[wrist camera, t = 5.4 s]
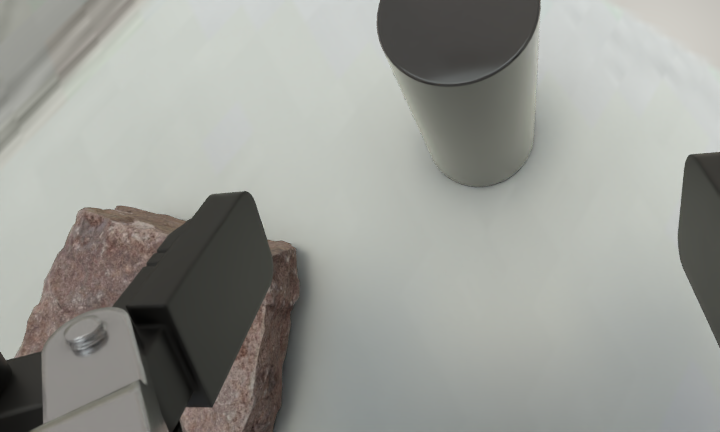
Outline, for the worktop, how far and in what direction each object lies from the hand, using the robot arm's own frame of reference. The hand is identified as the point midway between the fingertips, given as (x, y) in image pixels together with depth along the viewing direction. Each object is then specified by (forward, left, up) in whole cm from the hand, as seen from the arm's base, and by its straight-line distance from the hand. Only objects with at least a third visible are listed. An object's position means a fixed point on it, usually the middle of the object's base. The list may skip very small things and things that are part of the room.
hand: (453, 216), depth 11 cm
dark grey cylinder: (+3, -5, -11) cm, 12 cm away
